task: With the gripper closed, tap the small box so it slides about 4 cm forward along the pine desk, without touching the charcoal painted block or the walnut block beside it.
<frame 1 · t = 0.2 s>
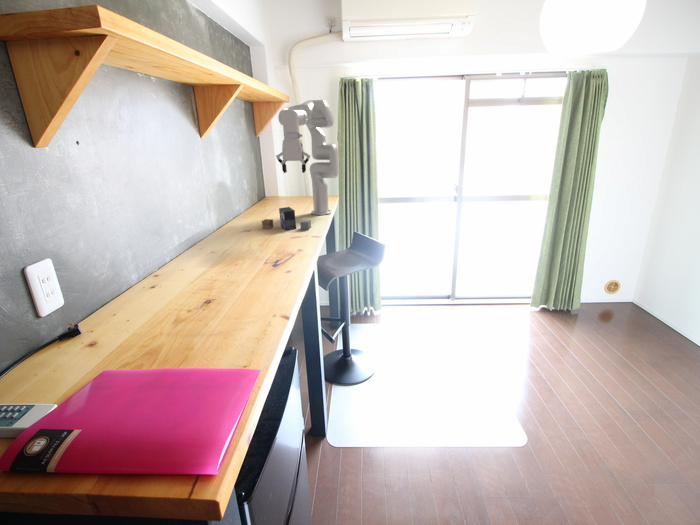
hand: (294, 172, 186), 31 cm above the table, tool pointing down, fingers open, 9 cm apart
small box: (288, 227, 205), on the table
charcoal block: (306, 229, 201), on the table
walnut block: (268, 228, 205), on the table
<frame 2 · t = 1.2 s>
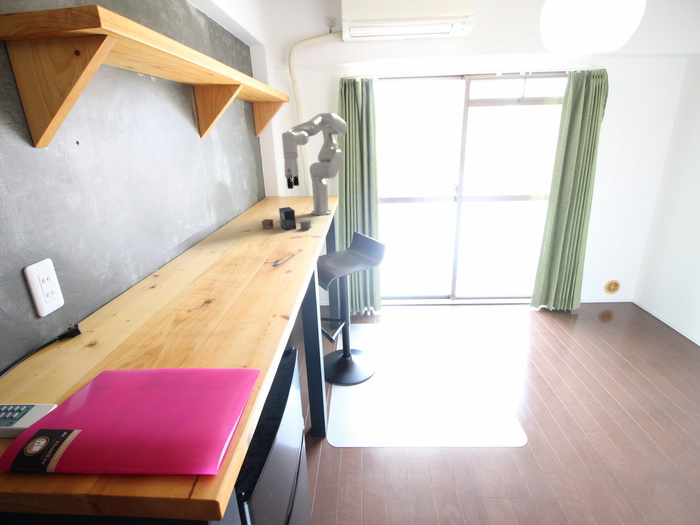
hand: (293, 187, 209), 20 cm above the table, tool pointing down, fingers open, 9 cm apart
nothing on the table moved.
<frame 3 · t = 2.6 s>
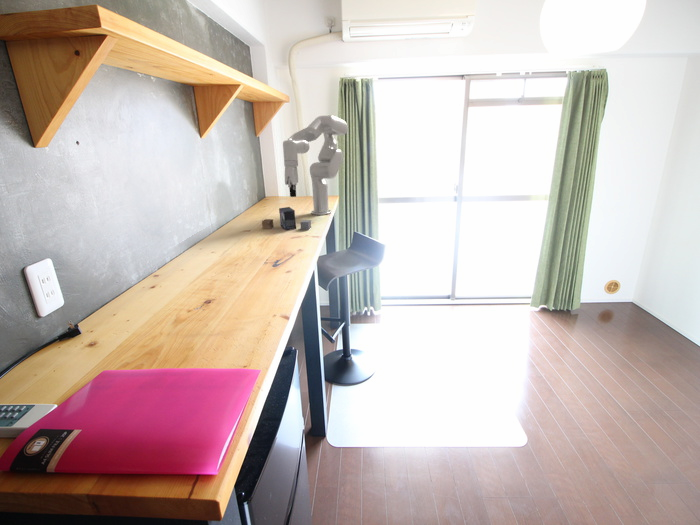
hand: (293, 196, 211), 15 cm above the table, tool pointing down, fingers closed
nothing on the table moved.
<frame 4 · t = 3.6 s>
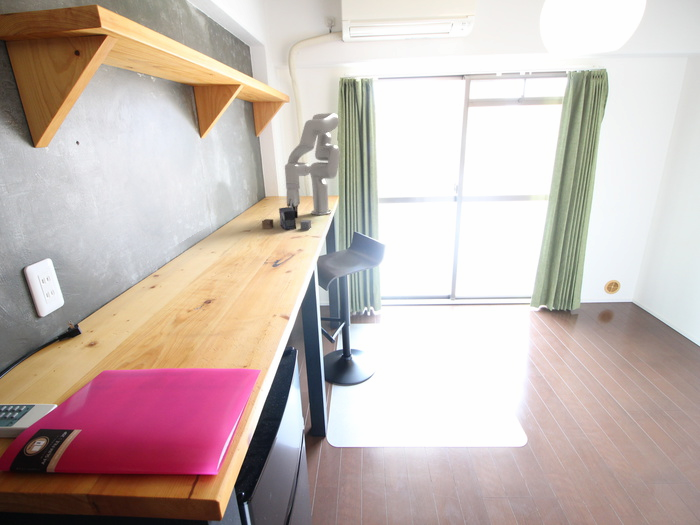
hand: (294, 217, 215), 3 cm above the table, tool pointing down, fingers closed
nothing on the table moved.
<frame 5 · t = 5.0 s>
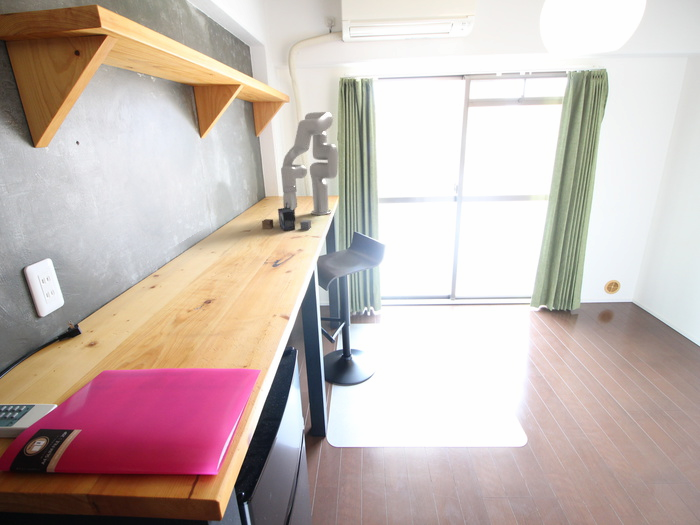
hand: (292, 221, 211), 2 cm above the table, tool pointing down, fingers closed
small box: (287, 228, 203), on the table, touching gripper
everything else where it was.
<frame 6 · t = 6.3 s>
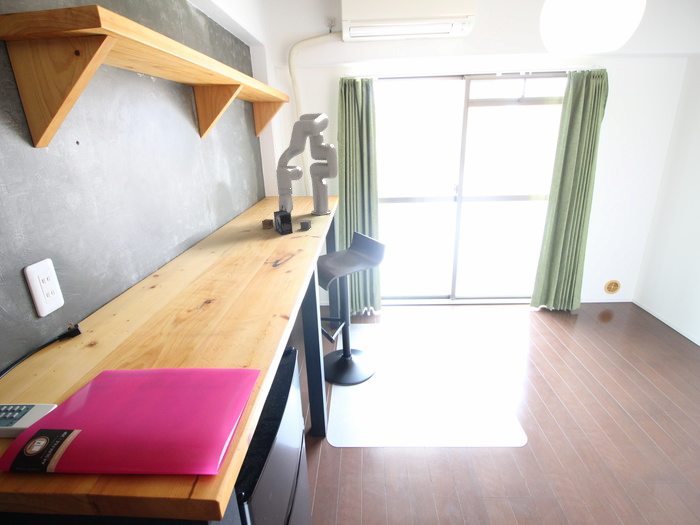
hand: (288, 224, 205), 2 cm above the table, tool pointing down, fingers closed
small box: (283, 232, 197), on the table, touching gripper
everything else where it was.
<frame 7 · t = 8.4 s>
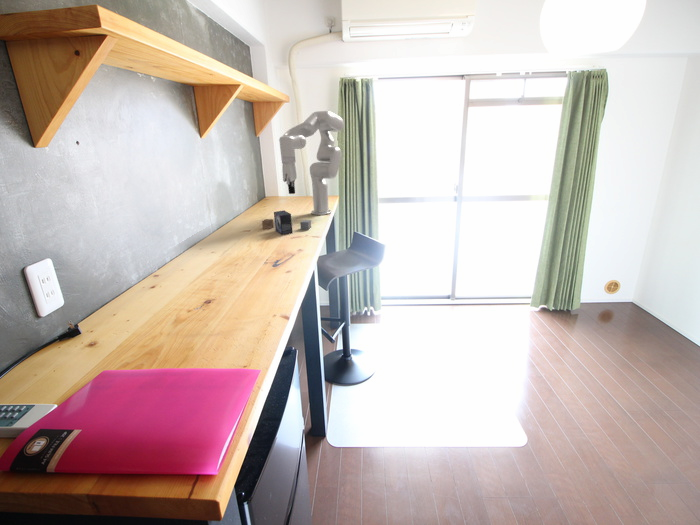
hand: (292, 193, 208), 17 cm above the table, tool pointing down, fingers closed
small box: (283, 232, 197), on the table
everything else where it was.
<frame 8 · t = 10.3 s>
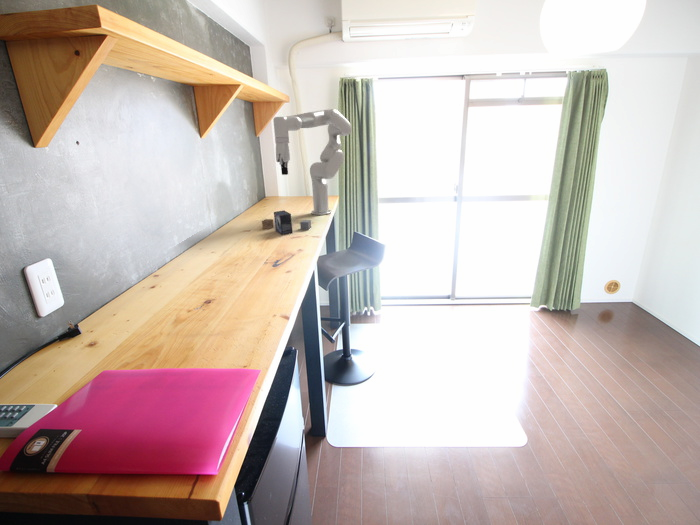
hand: (285, 174, 210), 27 cm above the table, tool pointing down, fingers closed
nothing on the table moved.
at the end: small box 3.2 cm from the target spot, on the table; charcoal block moved 0.1 cm from its start; walnut block moved 0.1 cm from its start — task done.
